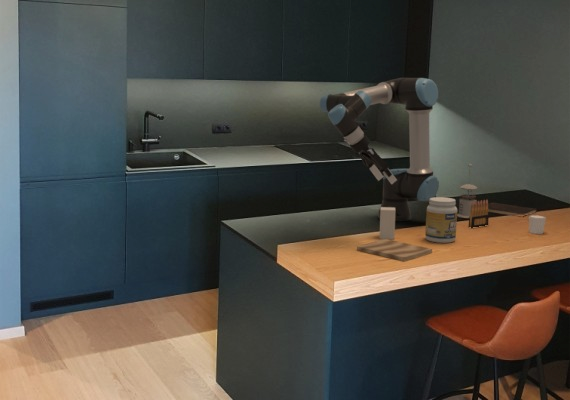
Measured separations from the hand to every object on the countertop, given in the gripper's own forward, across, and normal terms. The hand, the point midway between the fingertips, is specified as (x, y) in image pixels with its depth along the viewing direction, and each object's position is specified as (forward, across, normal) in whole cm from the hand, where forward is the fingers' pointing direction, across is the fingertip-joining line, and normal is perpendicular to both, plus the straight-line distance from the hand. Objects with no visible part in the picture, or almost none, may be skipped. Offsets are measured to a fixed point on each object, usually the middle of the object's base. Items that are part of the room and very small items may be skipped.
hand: (387, 180), depth 287 cm
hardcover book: (+69, -42, +49) cm, 94 cm away
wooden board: (+17, +19, -19) cm, 32 cm away
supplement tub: (+33, +6, +1) cm, 33 cm away
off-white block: (+20, -4, -14) cm, 24 cm away
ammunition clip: (+50, -14, +24) cm, 57 cm away
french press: (+53, -36, +30) cm, 71 cm away
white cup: (+62, +2, +38) cm, 72 cm away
